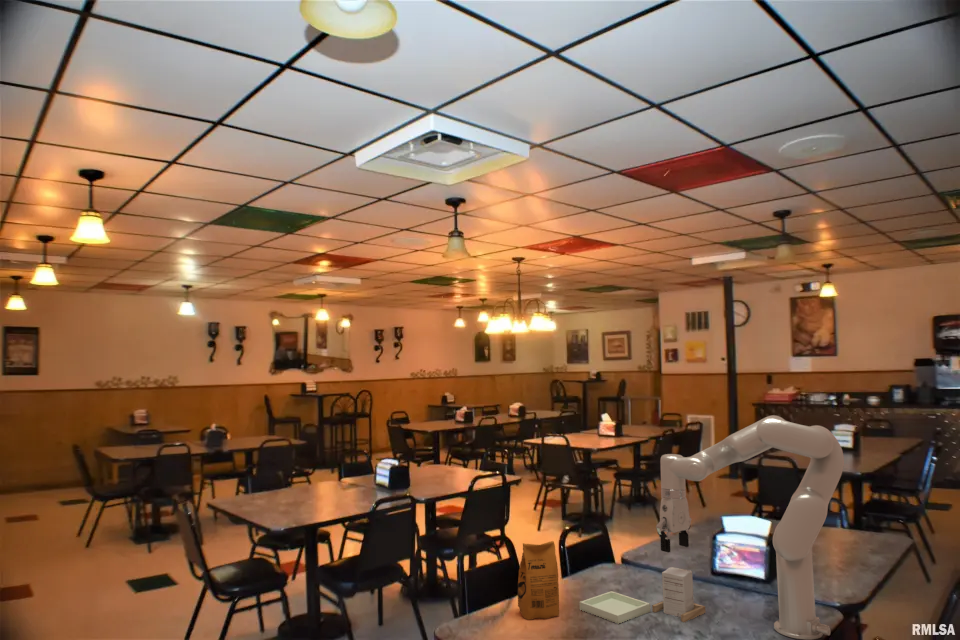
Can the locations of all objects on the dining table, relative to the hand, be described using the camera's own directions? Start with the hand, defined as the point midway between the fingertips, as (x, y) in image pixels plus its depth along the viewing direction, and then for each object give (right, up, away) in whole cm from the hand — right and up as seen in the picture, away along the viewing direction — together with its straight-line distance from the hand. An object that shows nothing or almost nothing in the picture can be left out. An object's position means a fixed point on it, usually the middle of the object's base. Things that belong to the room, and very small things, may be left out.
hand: (674, 548), depth 202 cm
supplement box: (+1, -20, -2) cm, 20 cm away
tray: (-19, -20, 0) cm, 28 cm away
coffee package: (-43, -20, -1) cm, 48 cm away
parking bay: (+1, -19, -2) cm, 19 cm away
